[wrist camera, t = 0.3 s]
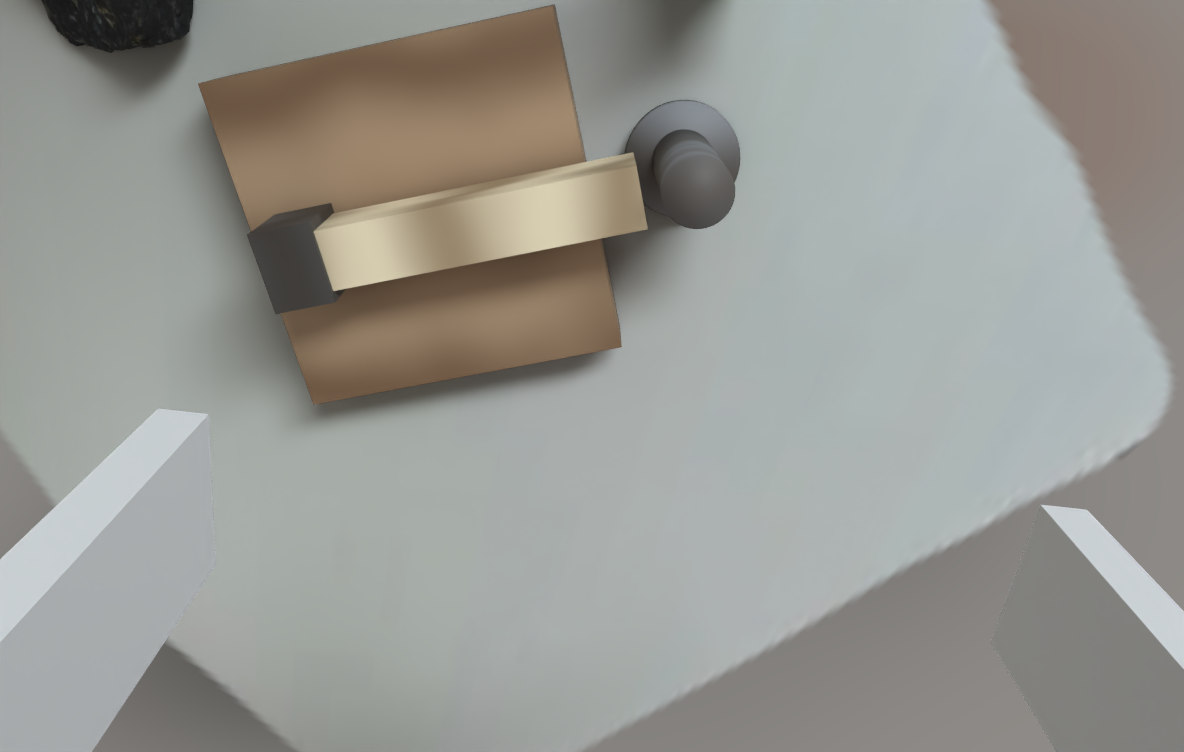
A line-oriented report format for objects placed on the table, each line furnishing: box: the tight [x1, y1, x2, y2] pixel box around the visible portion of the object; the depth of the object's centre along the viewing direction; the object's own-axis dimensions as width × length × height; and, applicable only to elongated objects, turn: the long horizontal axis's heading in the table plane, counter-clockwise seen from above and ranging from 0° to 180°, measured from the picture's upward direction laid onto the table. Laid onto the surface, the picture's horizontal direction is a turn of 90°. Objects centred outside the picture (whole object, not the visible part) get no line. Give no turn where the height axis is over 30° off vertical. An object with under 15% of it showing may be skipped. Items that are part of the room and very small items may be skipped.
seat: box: [198, 4, 740, 405], centre depth 36 cm, size 14×20×7 cm
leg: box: [247, 152, 648, 314], centre depth 35 cm, size 15×3×3 cm, turn 101°
